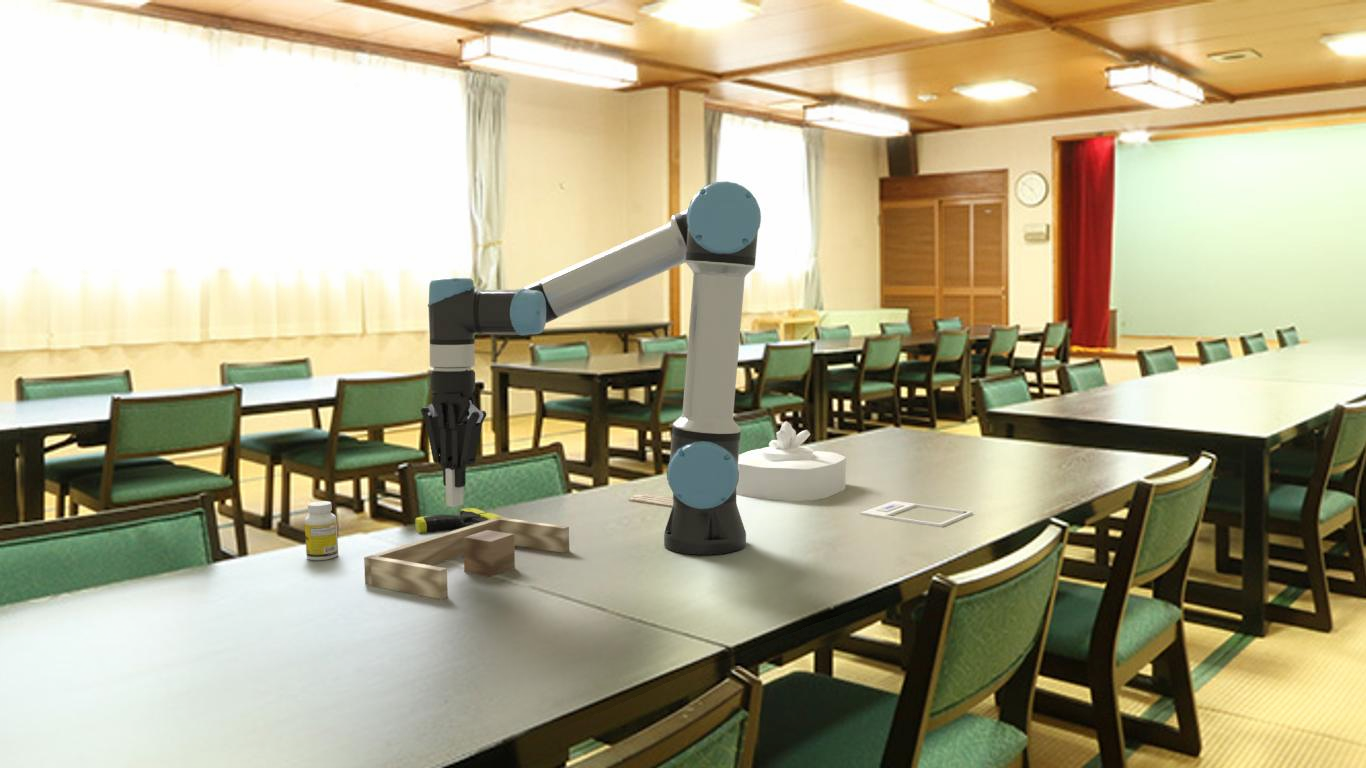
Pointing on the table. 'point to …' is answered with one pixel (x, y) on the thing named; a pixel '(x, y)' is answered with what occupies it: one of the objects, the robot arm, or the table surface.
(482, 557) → the cube
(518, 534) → the bay
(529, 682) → the table surface
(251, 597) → the table surface
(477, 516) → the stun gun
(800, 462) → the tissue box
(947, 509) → the photo frame
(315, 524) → the supplement bottle
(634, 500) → the wooden plank
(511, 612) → the table surface
